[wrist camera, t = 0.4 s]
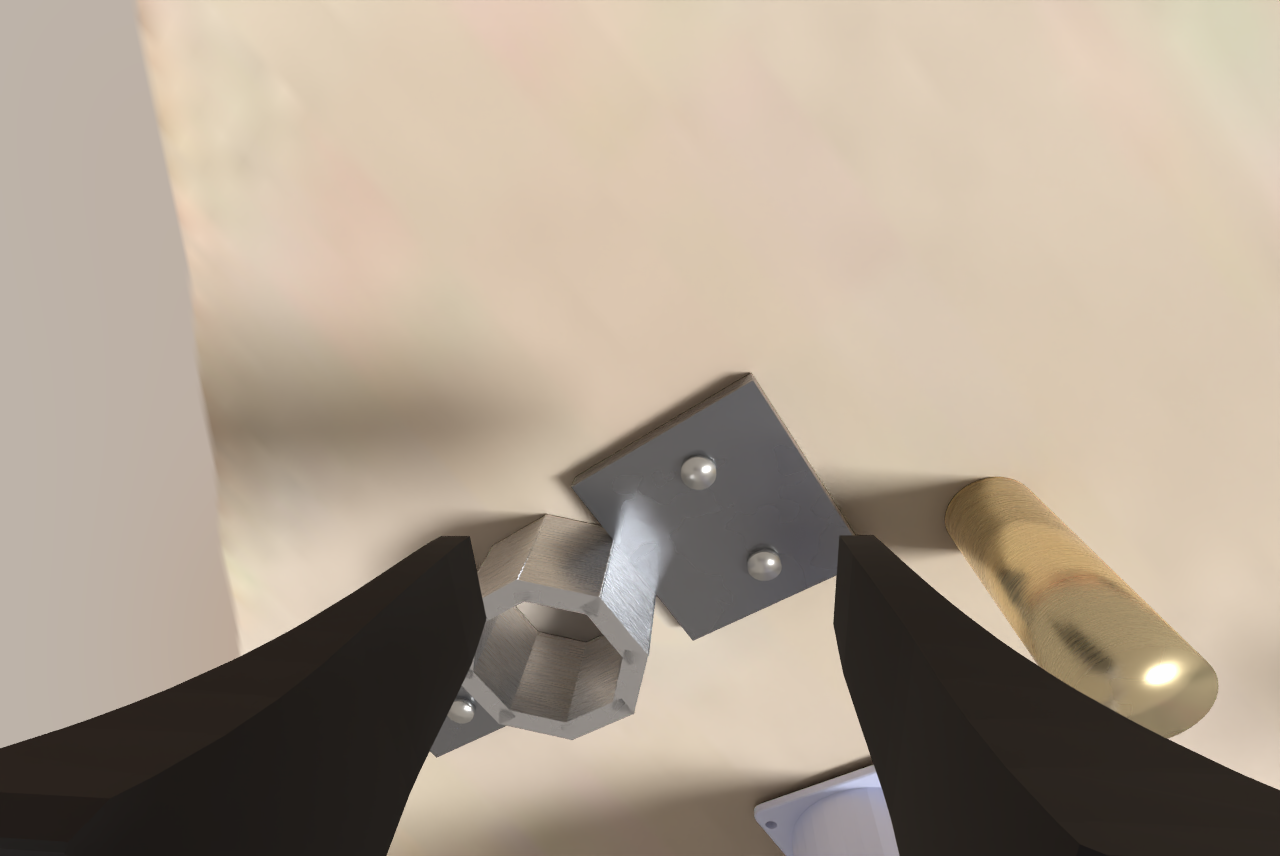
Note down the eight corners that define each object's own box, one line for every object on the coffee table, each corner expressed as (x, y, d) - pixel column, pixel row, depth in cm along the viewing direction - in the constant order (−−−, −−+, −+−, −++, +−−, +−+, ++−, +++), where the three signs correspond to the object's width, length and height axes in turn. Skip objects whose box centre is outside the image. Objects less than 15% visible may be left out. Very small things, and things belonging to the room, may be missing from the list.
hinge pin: (1050, 527, 21) (1235, 717, 14) (966, 563, 22) (1097, 760, 15) (1016, 462, 20) (1194, 626, 13) (930, 502, 21) (1051, 677, 14)
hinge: (751, 372, 20) (762, 417, 16) (863, 547, 22) (895, 622, 18) (324, 626, 26) (262, 699, 23) (443, 742, 28) (405, 826, 25)
